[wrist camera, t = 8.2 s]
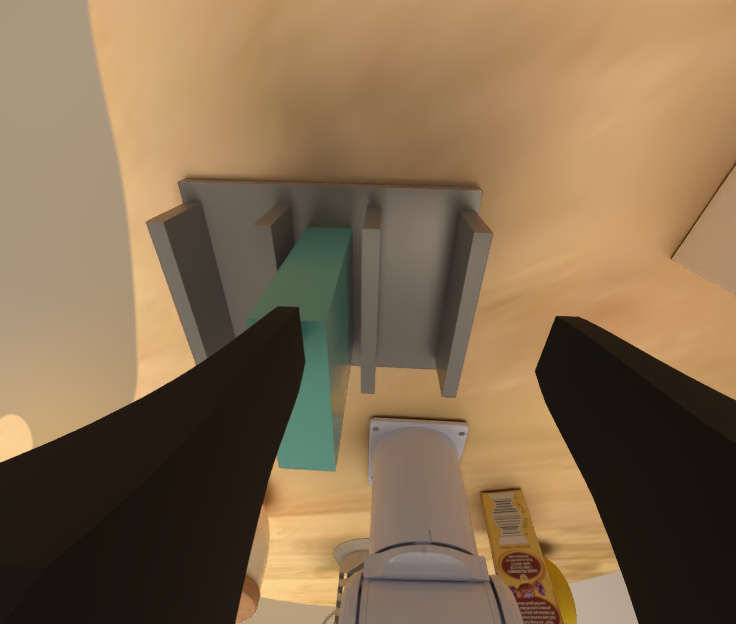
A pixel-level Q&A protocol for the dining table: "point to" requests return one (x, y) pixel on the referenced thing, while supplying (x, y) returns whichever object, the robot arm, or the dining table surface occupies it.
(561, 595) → the lemon
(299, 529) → the dining table surface
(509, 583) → the candy box
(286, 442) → the teal upright slab
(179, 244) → the rack
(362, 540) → the french press
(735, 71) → the dining table surface
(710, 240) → the milk
